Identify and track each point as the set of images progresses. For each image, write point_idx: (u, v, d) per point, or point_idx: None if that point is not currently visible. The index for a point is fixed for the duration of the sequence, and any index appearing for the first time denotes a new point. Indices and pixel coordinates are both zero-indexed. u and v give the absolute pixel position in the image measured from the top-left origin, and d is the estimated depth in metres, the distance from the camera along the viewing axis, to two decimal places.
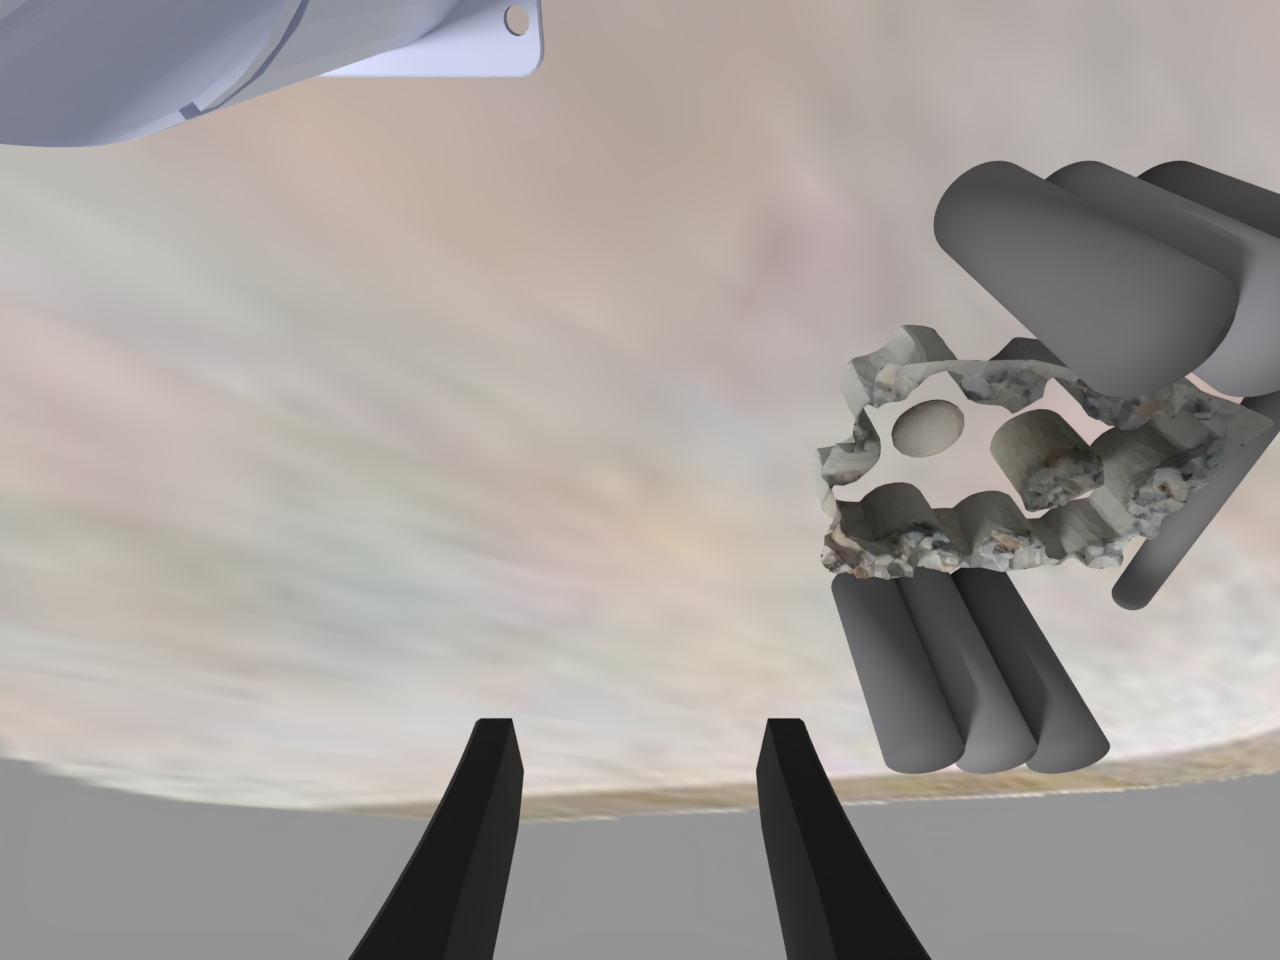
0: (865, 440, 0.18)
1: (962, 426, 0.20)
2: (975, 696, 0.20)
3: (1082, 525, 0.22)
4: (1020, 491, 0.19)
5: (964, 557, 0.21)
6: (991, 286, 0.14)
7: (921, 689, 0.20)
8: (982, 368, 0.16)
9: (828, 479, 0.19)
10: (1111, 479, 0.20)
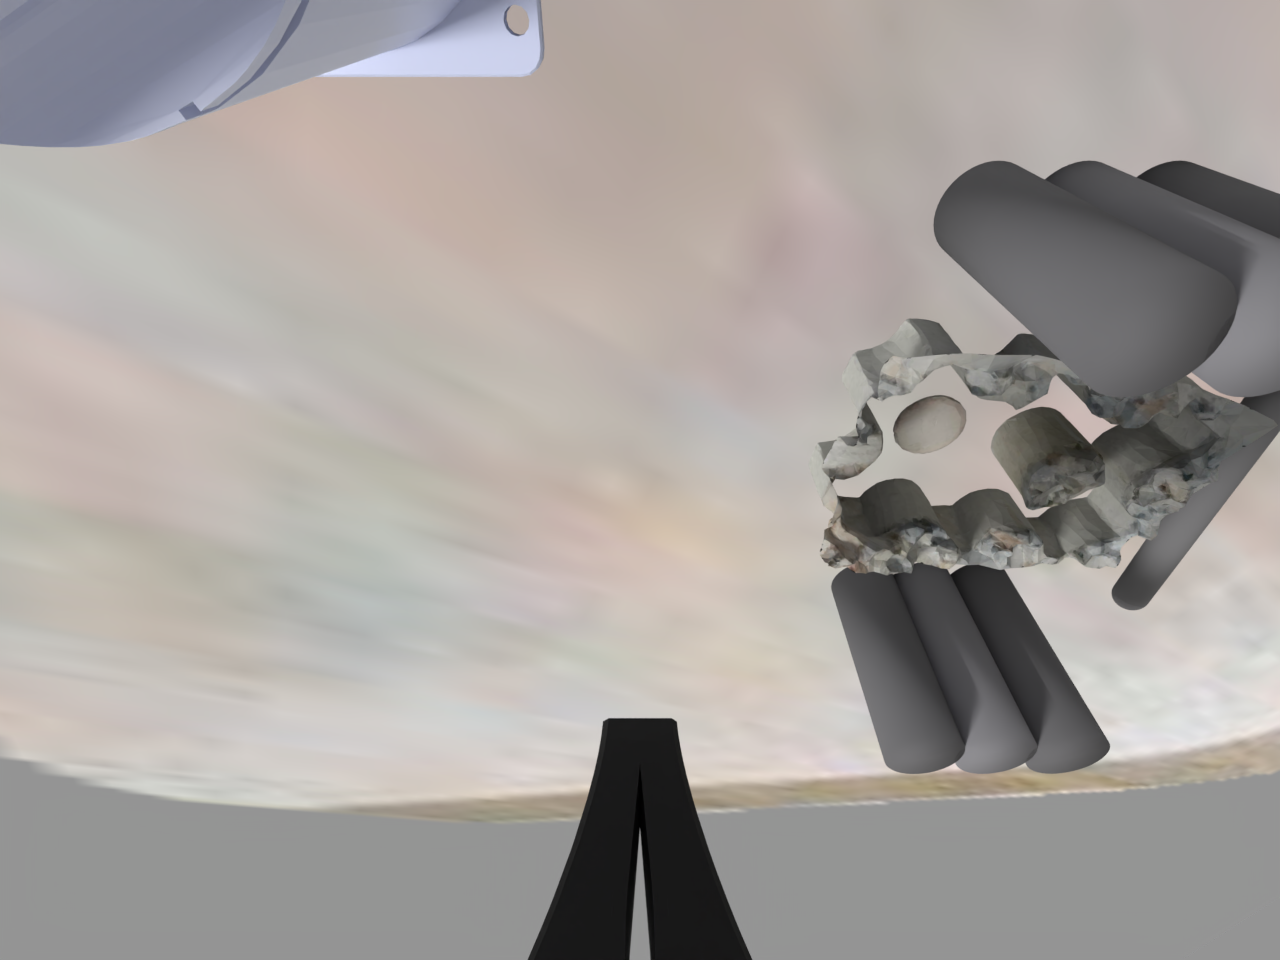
0: (868, 434, 0.18)
1: (964, 422, 0.20)
2: (975, 696, 0.20)
3: (1080, 524, 0.22)
4: (1021, 488, 0.19)
5: (963, 554, 0.21)
6: (991, 286, 0.14)
7: (921, 689, 0.20)
8: (989, 363, 0.16)
9: (829, 473, 0.19)
10: (1111, 478, 0.20)
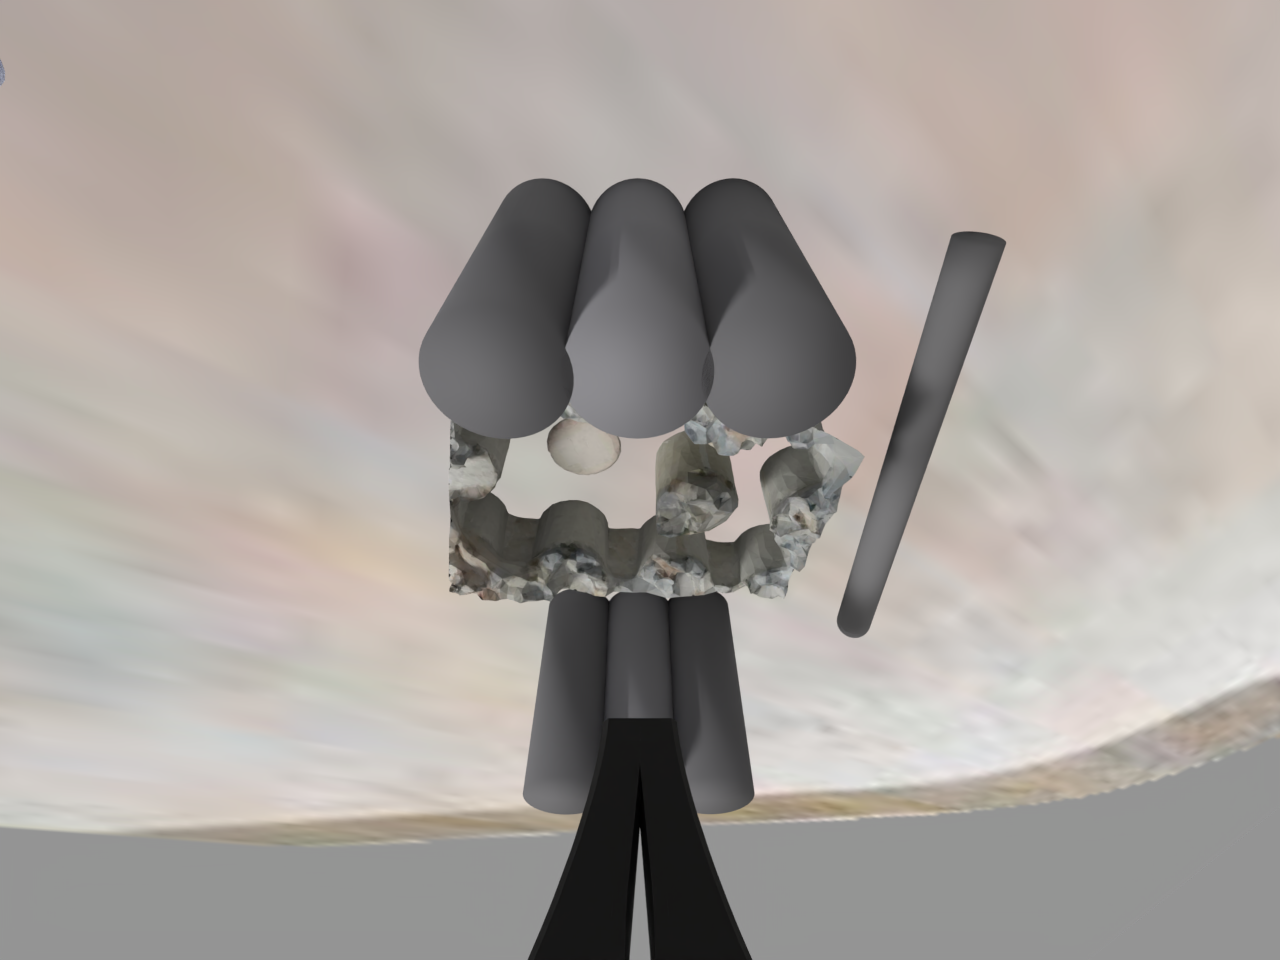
0: (467, 455, 0.17)
1: (617, 444, 0.19)
2: None
3: (758, 552, 0.21)
4: None
5: (623, 581, 0.20)
6: None
7: (568, 726, 0.19)
8: None
9: (453, 494, 0.18)
10: (766, 505, 0.19)
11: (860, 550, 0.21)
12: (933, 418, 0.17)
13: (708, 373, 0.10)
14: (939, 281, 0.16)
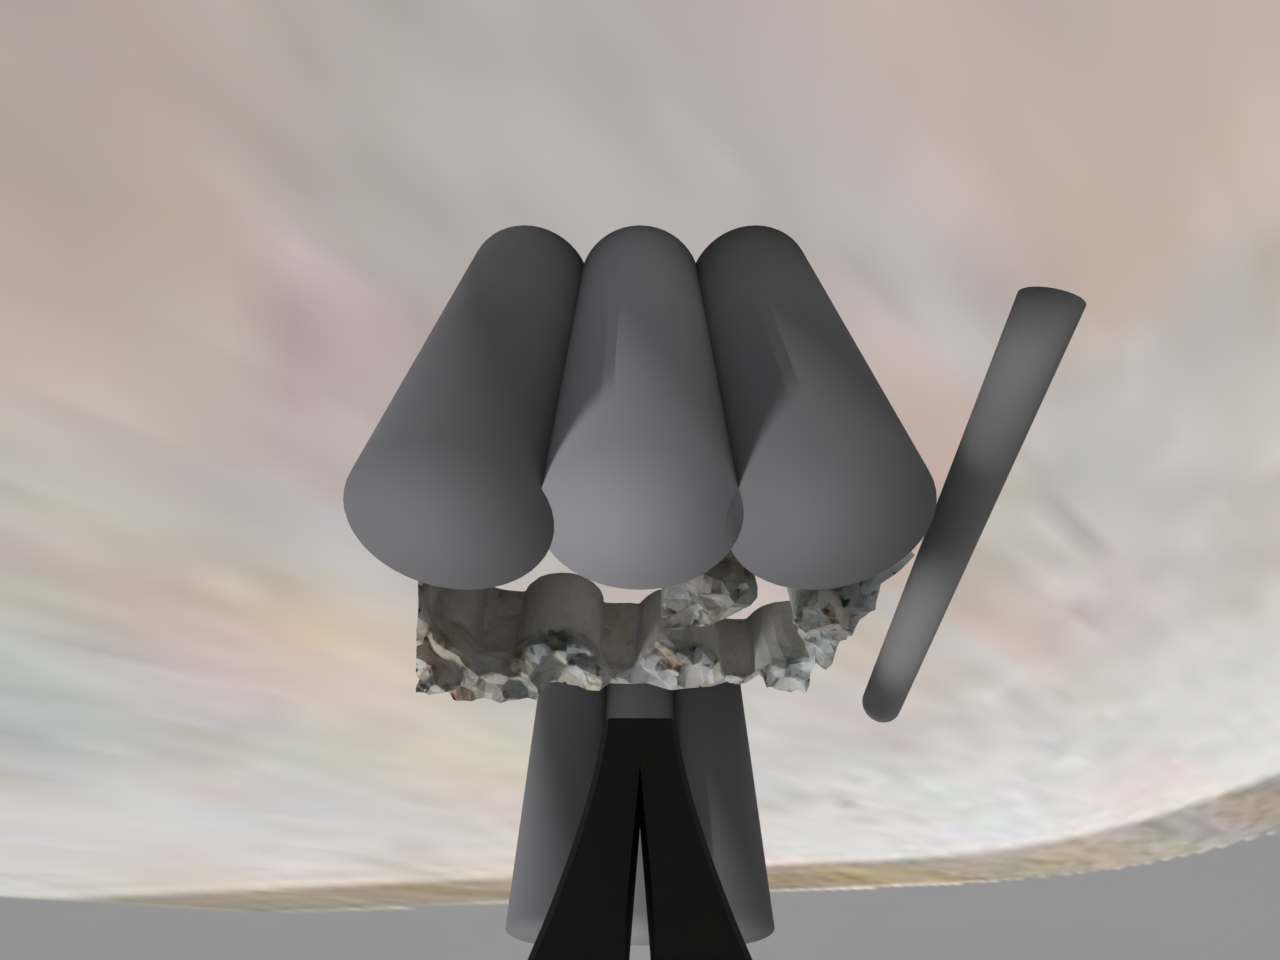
0: None
1: None
2: None
3: (774, 637, 0.18)
4: None
5: (620, 672, 0.17)
6: None
7: (559, 846, 0.17)
8: None
9: None
10: (788, 590, 0.17)
11: (892, 632, 0.19)
12: (986, 499, 0.15)
13: (735, 517, 0.07)
14: (1001, 345, 0.13)
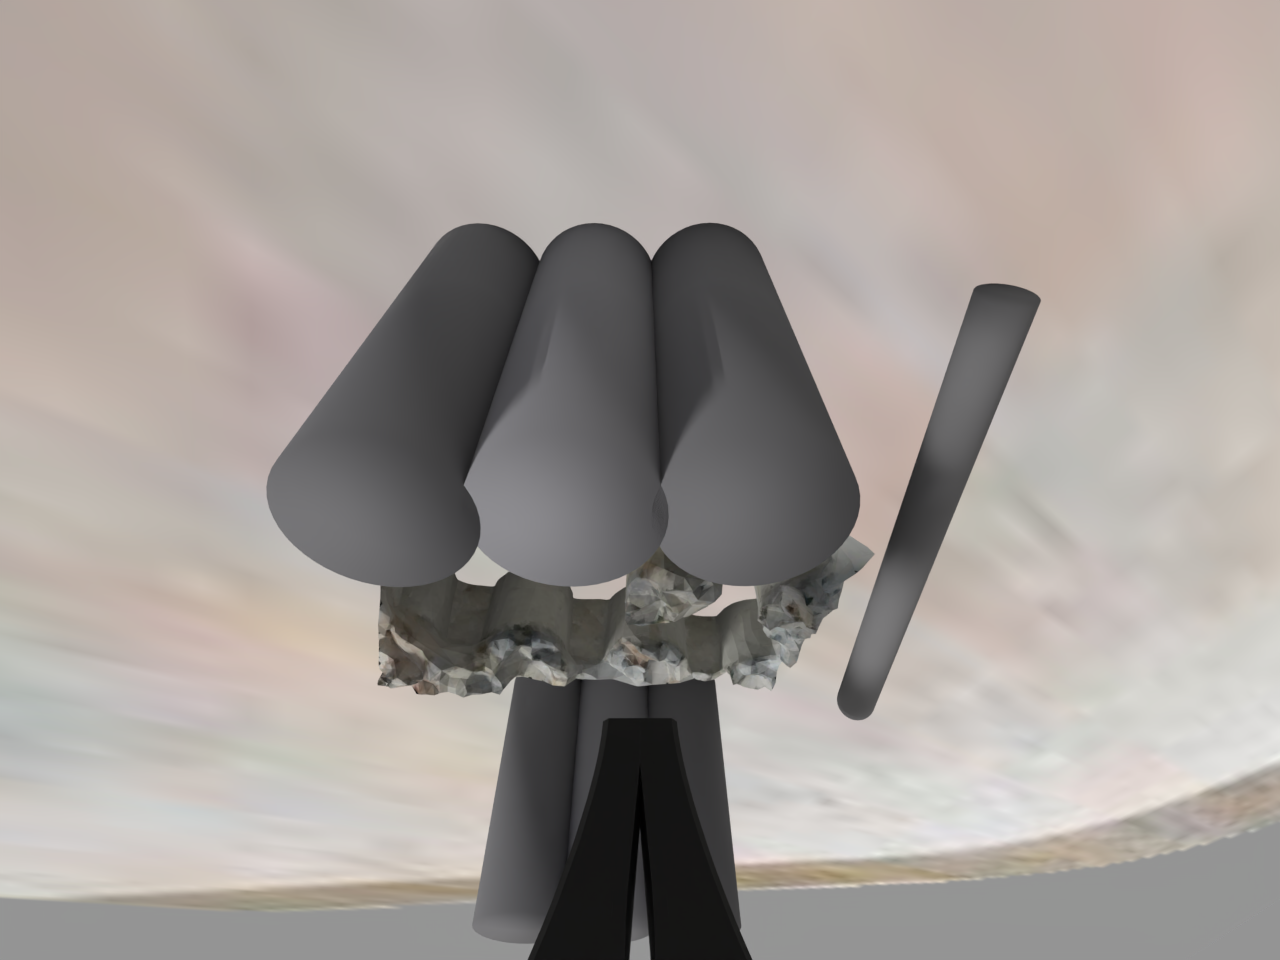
0: None
1: None
2: None
3: (742, 634, 0.18)
4: None
5: (586, 668, 0.17)
6: None
7: (526, 844, 0.17)
8: None
9: None
10: None
11: (863, 630, 0.19)
12: (949, 496, 0.15)
13: (661, 513, 0.07)
14: (958, 342, 0.13)
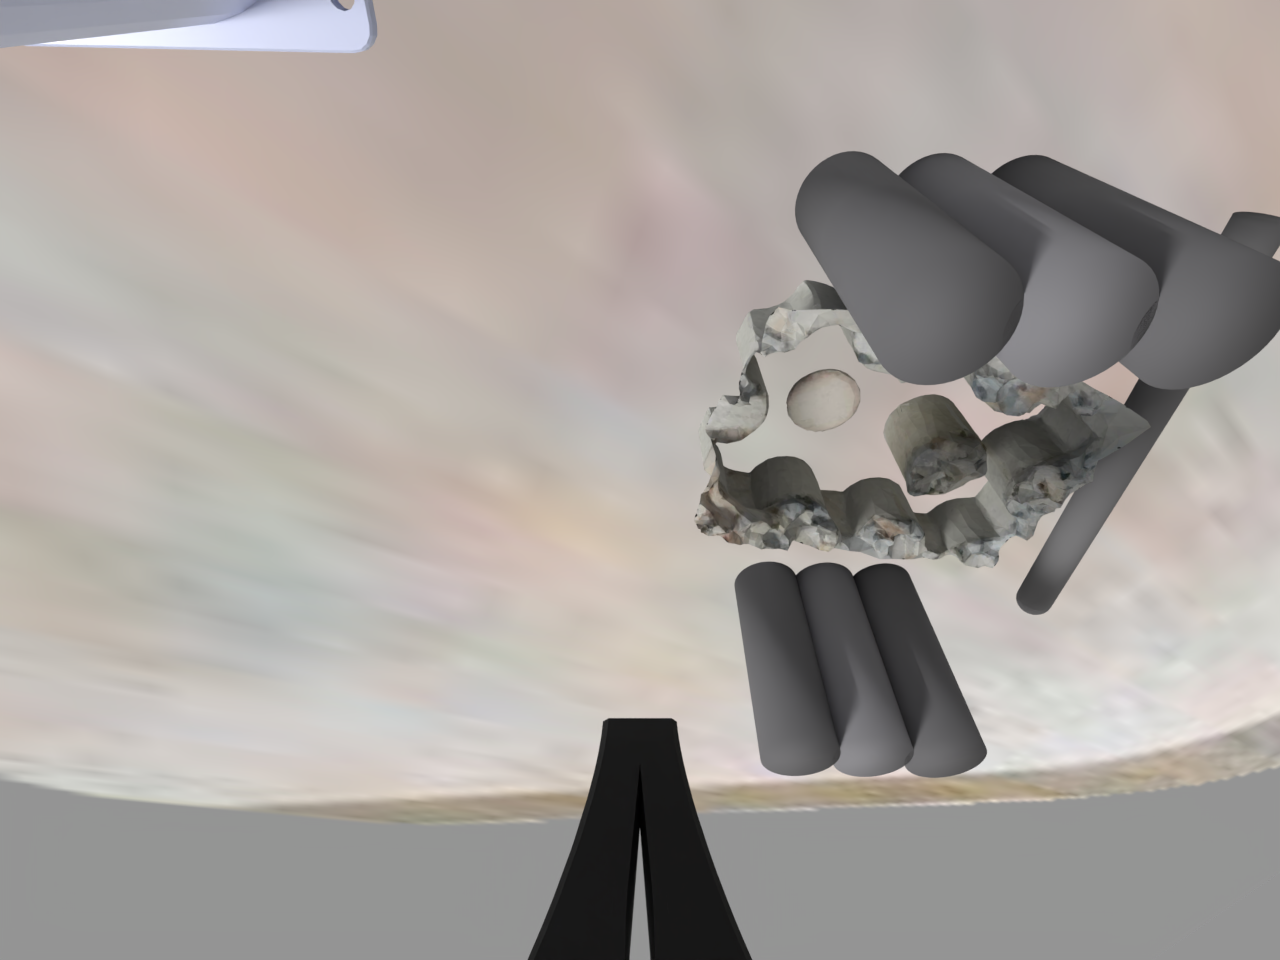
0: (751, 393, 0.17)
1: (857, 402, 0.20)
2: (854, 697, 0.20)
3: (964, 522, 0.21)
4: (904, 473, 0.19)
5: (844, 539, 0.20)
6: (827, 275, 0.14)
7: (800, 690, 0.20)
8: None
9: (712, 434, 0.18)
10: (996, 474, 0.20)
11: (1062, 526, 0.22)
12: (1178, 394, 0.18)
13: (1144, 323, 0.11)
14: None
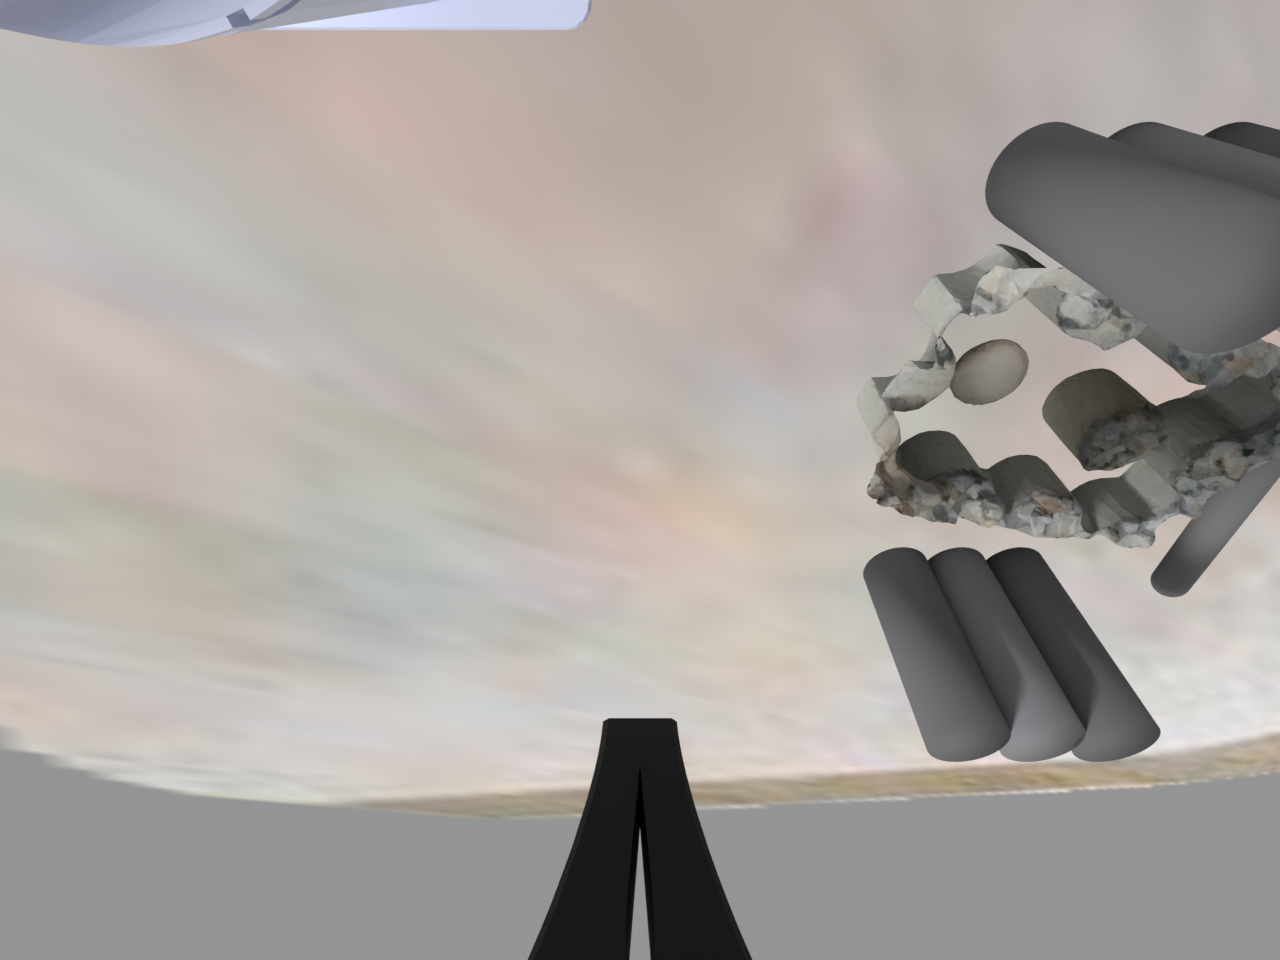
0: (945, 358, 0.16)
1: (1024, 375, 0.19)
2: (1019, 681, 0.19)
3: (1115, 502, 0.21)
4: (1079, 447, 0.18)
5: (1003, 515, 0.20)
6: (1055, 246, 0.13)
7: (964, 674, 0.19)
8: None
9: (890, 402, 0.18)
10: (1161, 452, 0.19)
11: (1213, 506, 0.22)
12: None
13: None
14: None
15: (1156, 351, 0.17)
